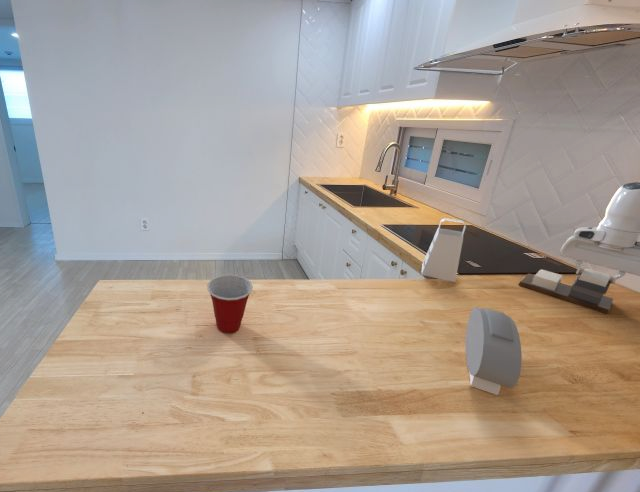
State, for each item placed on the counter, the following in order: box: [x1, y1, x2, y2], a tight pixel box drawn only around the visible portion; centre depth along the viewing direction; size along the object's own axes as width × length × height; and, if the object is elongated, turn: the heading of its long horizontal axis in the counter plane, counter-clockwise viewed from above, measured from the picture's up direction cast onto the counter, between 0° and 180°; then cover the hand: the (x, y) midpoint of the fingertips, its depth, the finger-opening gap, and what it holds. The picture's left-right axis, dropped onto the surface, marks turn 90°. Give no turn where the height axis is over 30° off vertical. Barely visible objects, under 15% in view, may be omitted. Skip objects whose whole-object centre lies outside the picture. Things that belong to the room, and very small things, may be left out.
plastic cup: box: [206, 274, 254, 334], centre depth 81 cm, size 11×11×12 cm
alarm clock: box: [464, 306, 523, 396], centre depth 73 cm, size 23×6×13 cm, turn 151°
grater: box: [421, 217, 467, 283], centre depth 118 cm, size 10×10×20 cm
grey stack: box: [568, 275, 611, 305], centre depth 107 cm, size 7×10×6 cm
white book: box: [579, 267, 612, 287], centre depth 106 cm, size 6×10×2 cm, turn 130°
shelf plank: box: [518, 273, 614, 314], centre depth 112 cm, size 22×12×2 cm, turn 40°
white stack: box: [532, 268, 564, 291], centre depth 115 cm, size 6×10×3 cm, turn 130°
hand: (594, 278), depth 106 cm, fingers closed on white book, 6 cm apart
